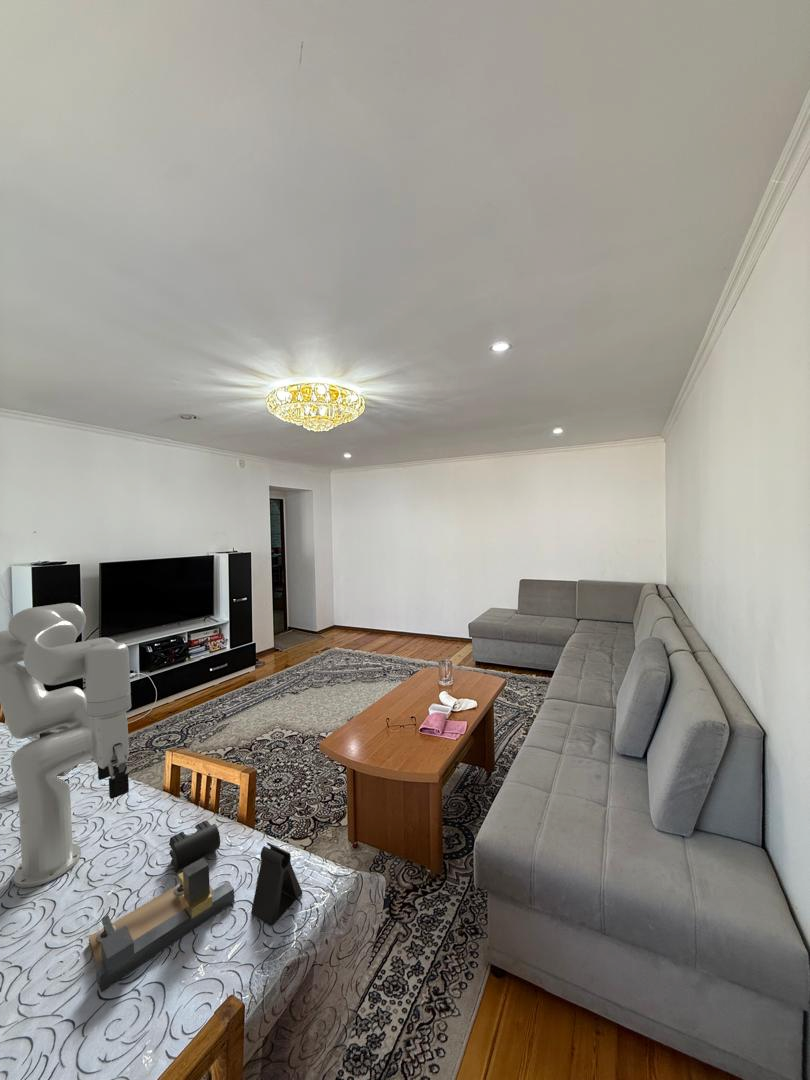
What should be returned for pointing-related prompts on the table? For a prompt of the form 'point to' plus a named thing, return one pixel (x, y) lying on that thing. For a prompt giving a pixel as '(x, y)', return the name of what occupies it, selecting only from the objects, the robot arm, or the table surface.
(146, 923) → the plate
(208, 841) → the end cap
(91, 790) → the table surface
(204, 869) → the block
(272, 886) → the black triangular stand
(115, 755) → the robot arm
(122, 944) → the rail
